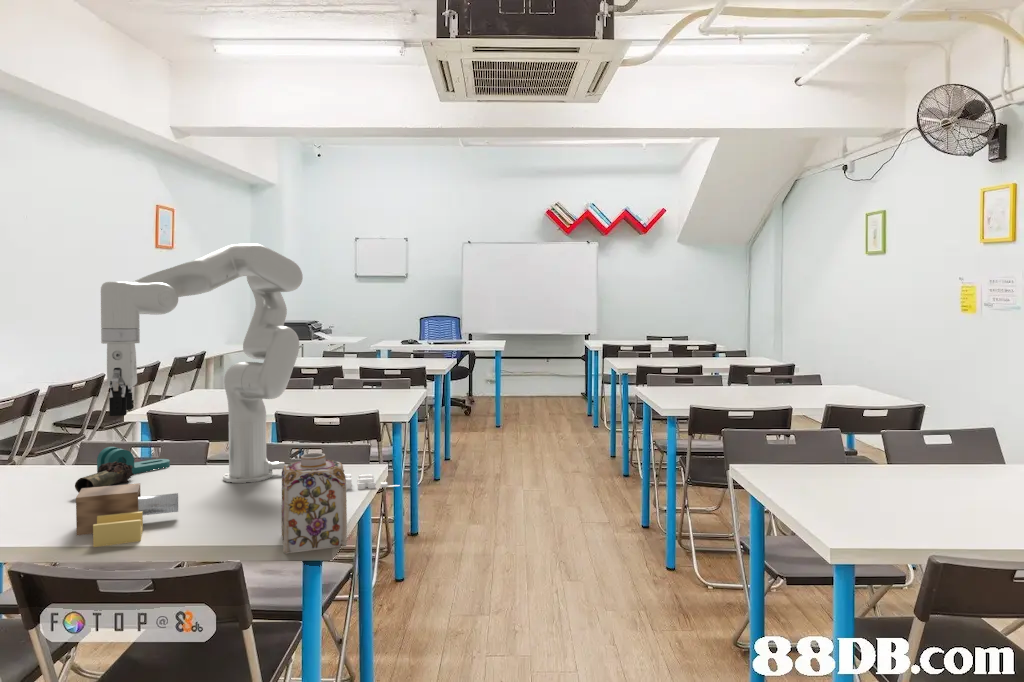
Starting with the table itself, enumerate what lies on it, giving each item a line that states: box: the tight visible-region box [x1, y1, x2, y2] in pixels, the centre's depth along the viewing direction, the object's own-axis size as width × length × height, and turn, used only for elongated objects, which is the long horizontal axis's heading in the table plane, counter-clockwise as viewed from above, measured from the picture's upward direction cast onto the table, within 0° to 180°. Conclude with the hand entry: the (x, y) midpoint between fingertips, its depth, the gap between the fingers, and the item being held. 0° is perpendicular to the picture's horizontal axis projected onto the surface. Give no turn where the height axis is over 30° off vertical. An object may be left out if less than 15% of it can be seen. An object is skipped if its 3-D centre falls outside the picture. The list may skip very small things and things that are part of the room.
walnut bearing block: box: [75, 482, 142, 536], centre depth 145 cm, size 11×8×8 cm
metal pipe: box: [74, 461, 135, 493], centre depth 176 cm, size 18×7×6 cm, turn 177°
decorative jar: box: [280, 452, 348, 554], centre depth 135 cm, size 12×12×18 cm
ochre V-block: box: [92, 511, 144, 548], centre depth 137 cm, size 8×7×4 cm
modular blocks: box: [344, 473, 401, 491], centre depth 178 cm, size 20×7×4 cm, turn 105°
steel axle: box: [138, 492, 179, 516], centre depth 146 cm, size 18×4×4 cm, turn 115°
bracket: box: [96, 446, 171, 475], centre depth 195 cm, size 18×7×8 cm, turn 144°
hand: (121, 412), depth 155 cm, fingers open, 9 cm apart
